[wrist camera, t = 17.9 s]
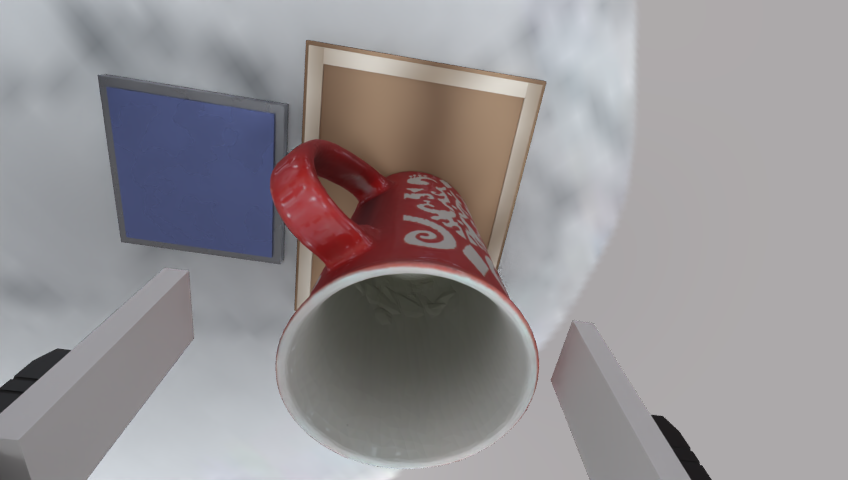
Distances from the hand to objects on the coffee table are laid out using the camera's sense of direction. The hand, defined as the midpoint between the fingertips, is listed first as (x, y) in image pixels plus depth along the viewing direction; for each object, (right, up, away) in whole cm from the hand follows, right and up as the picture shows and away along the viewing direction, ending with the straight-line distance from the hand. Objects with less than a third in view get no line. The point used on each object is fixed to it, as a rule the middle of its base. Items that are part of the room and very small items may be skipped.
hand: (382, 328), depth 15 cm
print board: (0, +5, +12) cm, 13 cm away
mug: (0, +5, +12) cm, 13 cm away
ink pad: (-12, +7, +11) cm, 18 cm away
